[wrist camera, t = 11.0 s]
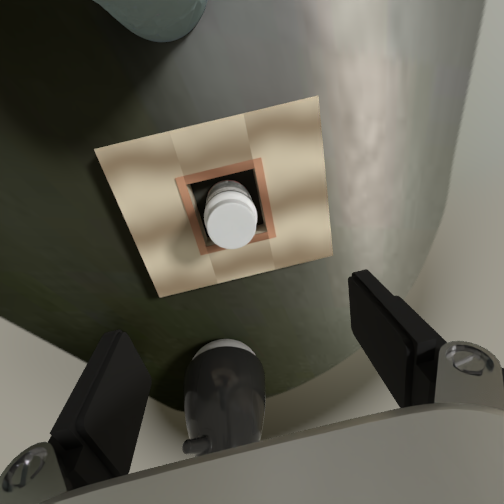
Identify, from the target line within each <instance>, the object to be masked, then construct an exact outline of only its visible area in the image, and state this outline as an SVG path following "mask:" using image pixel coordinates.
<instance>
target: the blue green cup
mask: <svg viewBox="0 0 504 504" xmlns="http://www.w3.org/2000/svg"><path fill="white" fill-rule="evenodd" d="M93 1H95V2H96V3H98V4H99V5H101V6H102V7H103V8H104V9H105V10H106V11H108V12H109V13H110V14H111V15H112V16H113V17H114V18H115V19H117V20H118V21H119V22H120V23H121V24H122V25H124V26H125V27H126V28H127V29H129V30H130V31H131V32H133V33H134V34H136V35H138V36H140V37H142V38H144V39H146V40H150V41H154V42H170V41H174V40H177V39H179V38H182V37H183V36H185V35H186V34H188V33H189V32H190V31H191V30H192V29H193V28H194V27H195V26H196V24H197V23H198V21H199V20H200V18H201V16H202V14H203V12H204V10H205V7H206V4H207V0H93Z"/></svg>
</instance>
